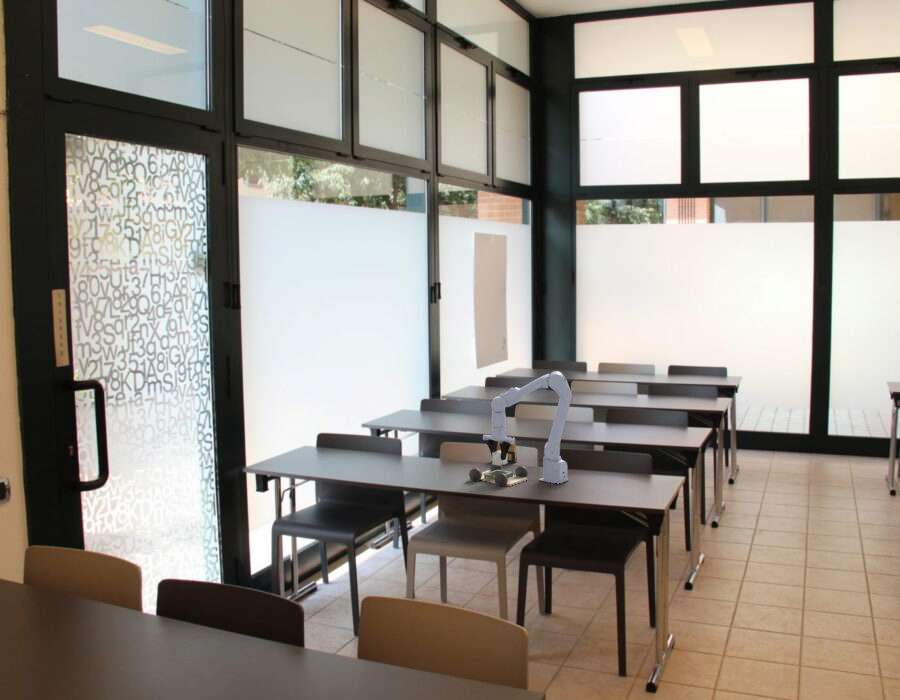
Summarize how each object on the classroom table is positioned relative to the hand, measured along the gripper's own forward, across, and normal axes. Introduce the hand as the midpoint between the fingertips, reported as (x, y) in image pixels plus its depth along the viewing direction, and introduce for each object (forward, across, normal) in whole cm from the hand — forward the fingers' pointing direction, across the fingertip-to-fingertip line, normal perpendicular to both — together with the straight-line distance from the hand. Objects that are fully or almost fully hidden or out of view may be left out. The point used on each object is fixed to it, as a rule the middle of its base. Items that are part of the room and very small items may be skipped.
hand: (498, 459), depth 347 cm
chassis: (+8, 0, 0) cm, 8 cm away
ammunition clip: (+9, +15, -26) cm, 31 cm away
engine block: (+2, 0, -1) cm, 2 cm away
